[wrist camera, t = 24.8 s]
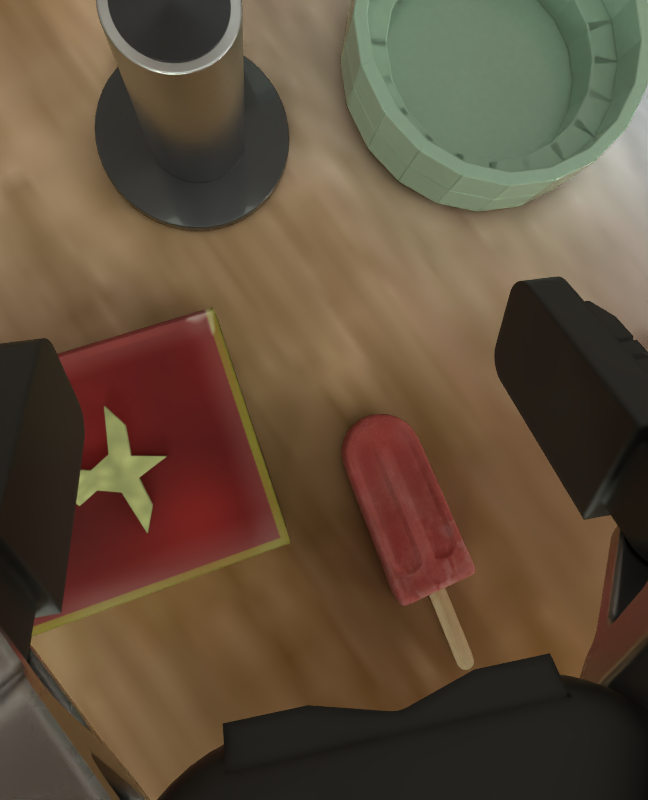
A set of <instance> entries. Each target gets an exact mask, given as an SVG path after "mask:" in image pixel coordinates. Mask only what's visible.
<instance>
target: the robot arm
mask: <svg viewBox="0 0 648 800" xmlns="http://www.w3.org/2000/svg"><path fill="white" fill-rule="evenodd" d="M495 366H496V371H497V374H498V377H499V379H500V381H501V382H502V384H503V386H504V387H505V389H506V391H507V392H508V394H509V396H510V397H511V399H512V401H513V402H514V404H515V406H516V407H517V409H518V411H519V412H520V414H521V416H522V417H523V419H524V421H525V422H526V424H527V426H528V427H529V429H530V431H531V432H532V434H533V436H534V437H535V439H536V441H537V442H538V444H539V446H540V447H541V449H542V451H543V452H544V454H545V456H546V457H547V459H548V461H549V462H550V464H551V466H552V467H553V469H554V471H555V472H556V474H557V476H558V477H559V479H560V481H561V482H562V484H563V486H564V487H565V489H566V491H567V492H568V494H569V496H570V497H571V499H572V501H573V502H574V504H575V506H576V507H577V509H578V510H579V512H580V514H581V515H582V517H583V519H584V520H585V519H590V518H596V517H601V516H607V515H611V516H612V517H613V519H614V520H615V522H616V523H617V527H616V528H615V530H614V532H613V534H612V537H611V543H610V549H609V555H608V562H607V568H606V575H605V581H604V588H603V594H602V600H601V607H600V613H599V620H598V626H597V631H596V634H595V638H594V641H593V643H592V646H591V648H590V650H589V652H588V655H587V657H586V660H585V663H584V665H583V669H582V672H581V676H580V678H576V677H571V676H566V675H560V674H559V672H558V670H557V668H556V666H555V663H554V661H553V659H552V657H551V655H550V654H545V655H540V656H536V657H531V658H526V659H522V660H517V661H512V662H508V663H503V664H498V665H494V666H489V667H484V668H480V669H475V670H473V671H471V672H469V673H467V674H466V675H464V676H462V677H460V678H459V679H457V680H455V681H453V682H451V683H450V684H448V685H446V686H444V687H443V688H441V689H439V690H437V691H436V692H434V693H432V694H430V695H428V696H427V697H425V698H423V699H421V700H420V701H418V702H416V703H414V704H413V705H411V706H409V707H407V708H405V709H403V710H399V711H378V710H364V709H350V708H337V707H323V706H309V705H307V706H303V707H298V708H293V709H289V710H284V711H279V712H275V713H270V714H265V715H261V716H256V717H252V718H247V719H242V720H238V721H233V722H228V723H224V724H223V735H224V745H222V746H221V747H219V748H217V749H215V750H213V751H211V752H210V753H208V754H207V755H205V756H204V757H203V758H201V759H200V760H198V761H197V762H196V763H194V764H193V765H191V766H190V767H189V768H188V769H187V770H186V771H185V772H183V773H182V774H181V775H180V776H179V777H178V778H177V779H176V780H175V781H174V782H172V783H171V784H170V786H169V787H168V788H167V789H166V790H165V791H164V792H163V794H162V795H161V796H160V797H159V798H158V799H157V800H648V352H647V351H646V349H645V348H644V347H643V346H642V345H641V344H640V343H639V342H638V341H637V340H633V335H632V334H631V333H630V332H629V331H628V330H627V329H626V328H625V326H624V325H623V324H622V323H621V322H620V321H619V320H618V319H617V318H616V317H615V316H614V315H612V314H610V313H609V312H607V311H605V310H604V309H602V308H600V307H599V306H597V305H595V304H594V303H592V302H590V301H583V299H582V298H581V297H580V296H579V295H578V294H577V293H576V291H575V290H574V289H573V288H572V287H571V286H570V285H569V283H568V282H567V281H566V280H565V279H563V278H562V277H550V278H542V279H534V280H526V281H519V282H517V283H515V284H514V286H513V287H512V289H511V292H510V295H509V299H508V302H507V306H506V310H505V313H504V317H503V321H502V324H501V328H500V332H499V335H498V339H497V343H496V347H495ZM84 440H85V426H84V418H83V413H82V410H81V406H80V404H79V401H78V399H77V397H76V395H75V392H74V390H73V388H72V386H71V384H70V381H69V379H68V377H67V375H66V373H65V370H64V368H63V366H62V364H61V362H60V359H59V357H58V355H57V353H56V351H55V349H54V347H53V345H52V343H51V342H50V341H49V340H48V339H46V338H42V339H34V340H26V341H18V342H9V343H1V344H0V800H150V799H149V798H148V796H147V795H146V794H145V792H144V791H143V790H142V788H141V787H140V786H139V784H138V783H137V782H136V780H135V779H134V778H133V777H132V775H131V774H130V773H129V772H128V770H127V769H126V768H125V767H124V765H123V764H122V763H121V762H120V760H119V759H118V758H117V757H116V756H115V755H114V753H113V752H112V751H111V750H110V749H109V748H108V746H107V745H106V744H105V743H104V742H103V740H102V739H101V738H100V737H99V735H98V734H97V733H96V731H95V730H94V729H93V727H92V726H91V725H90V723H89V722H88V721H87V719H86V718H85V717H84V715H83V714H82V713H81V711H80V710H79V709H78V707H77V706H76V705H75V703H74V702H73V701H72V699H71V698H70V696H69V695H68V694H67V692H66V691H65V690H64V688H63V687H62V686H61V684H60V683H59V682H58V680H57V679H56V678H55V676H54V675H53V674H52V672H51V671H50V670H49V668H48V667H47V666H46V664H45V663H44V662H43V660H42V659H41V658H40V656H39V655H38V654H37V652H36V651H35V650H34V648H33V647H32V646H31V645H30V643H31V637H32V631H33V625H34V619H35V618H38V617H43V616H49V615H54V614H60V613H61V612H62V605H63V597H64V590H65V582H66V575H67V567H68V560H69V552H70V545H71V537H72V530H73V522H74V515H75V507H76V500H77V492H78V485H79V478H80V470H81V463H82V455H83V448H84Z"/></svg>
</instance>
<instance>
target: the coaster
mask: <svg viewBox="0 0 648 800" xmlns="http://www.w3.org/2000/svg"><path fill="white" fill-rule="evenodd" d="M243 67H244V119H245V143H244V149H243V152H242V155H241V157H240V159H239V161H238V162H237V164H236V165H235V166H234V167H233V169H232V170H231V171H229V172H228V173H227V174H225V175H224V176H222V177H220V178H218V179H216V180H213V181H209V182H199V183H197V182H189V181H185V180H182V179H179V178H177V177H175V176H173V175H172V174H170V173H169V172H167V171H166V170H165V169H164V168H163V167H162V166H161V165H160V164H159V163H158V162H157V160H156V159H155V157H154V155H153V153H152V151H151V149H150V147H149V144H148V141H147V139H146V136H145V134H144V131H143V129H142V126H141V124H140V121H139V119H138V116H137V114H136V111H135V109H134V106H133V104H132V101H131V99H130V96H129V93H128V91H127V88H126V86H125V83H124V81H123V78H122V76H121V73H120V71H119V68H118V67H117V68H116V70H115V71H114V72H113V74H112V75H111V76H110V78H109V79H108V81H107V83H106V85H105V87H104V89H103V90H102V93H101V96H100V99H99V102H98V106H97V110H96V116H95V138H96V144H97V149H98V154H99V156H100V159H101V162H102V165H103V167H104V169H105V171H106V173H107V175H108V177H109V178H110V180H111V182H112V183H113V184H114V186H115V187H116V189H117V190H118V192H119V193H120V194H121V195H122V196H123V197H124V198H125V200H126V201H127V202H129V203H130V204H131V205H132V206H133V207H134V208H135V209H137V210H138V211H139V212H141V213H142V214H144V215H145V216H147V217H149V218H151V219H153V220H155V221H157V222H159V223H161V224H164V225H167V226H169V227H173V228H178V229H182V230H191V231H208V230H214V229H220V228H223V227H227V226H230V225H233V224H235V223H237V222H239V221H242V220H243V219H245V218H247V217H248V216H250V215H251V214H253V213H254V212H255V211H257V210H258V209H259V208H260V207H261V206H262V205H263V204H264V203H265V202H266V201H267V200H268V199H269V198H270V196H271V195H272V193H273V192H274V191H275V189H276V188H277V186H278V184H279V182H280V180H281V178H282V175H283V172H284V169H285V166H286V161H287V156H288V149H289V129H288V122H287V117H286V113H285V110H284V107H283V104H282V102H281V99H280V97H279V95H278V93H277V91H276V90H275V88H274V87H273V85H272V83H271V82H270V80H269V79H268V78H267V77H266V76H265V74H264V73H263V72H262V71H261V70H260V69H259V68H258V67H257V66H256V65H255V64H254V63H253V62H252V61H250V60H249V59H248V58H246V57H245V56H243Z"/></svg>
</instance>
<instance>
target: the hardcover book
mask: <svg viewBox="0 0 648 800" xmlns="http://www.w3.org/2000/svg"><path fill="white" fill-rule="evenodd" d="M57 355H58V357H59V359H60V362H61V364H62V366H63V368H64V370H65V373H66V375H67V377H68V379H69V381H70V384H71V386H72V388H73V390H74V392H75V395H76V397H77V399H78V401H79V404H80V406H81V410H82V413H83V418H84V426H85V440H84V448H83V455H82V463H81V470H80V478H79V485H78V492H77V500H76V507H75V515H74V522H73V530H72V537H71V545H70V552H69V560H68V567H67V575H66V582H65V590H64V597H63V605H62V612H61V613H60V614H54V615H49V616H43V617H38V618H35V619H34V625H33V631H32V636H34V635H37V634H39V633H42V632H45V631H48V630H51V629H53V628H56V627H59V626H62V625H64V624H67V623H70V622H73V621H76V620H78V619H81V618H84V617H87V616H89V615H92V614H95V613H98V612H100V611H103V610H106V609H109V608H112V607H114V606H117V605H120V604H123V603H125V602H128V601H131V600H134V599H137V598H139V597H142V596H145V595H148V594H150V593H153V592H156V591H159V590H161V589H164V588H167V587H170V586H173V585H175V584H178V583H181V582H184V581H186V580H189V579H192V578H195V577H198V576H200V575H203V574H206V573H209V572H211V571H214V570H217V569H220V568H222V567H225V566H228V565H231V564H234V563H236V562H239V561H242V560H245V559H247V558H250V557H253V556H256V555H259V554H261V553H264V552H267V551H270V550H272V549H275V548H278V547H281V546H283V545H286V544H289V543H291V542H290V539H289V536H288V533H287V530H286V525H285V522H284V519H283V516H282V513H281V510H280V507H279V504H278V501H277V498H276V495H275V492H274V489H273V486H272V483H271V480H270V477H269V474H268V470H267V467H266V464H265V461H264V458H263V455H262V452H261V449H260V446H259V443H258V440H257V437H256V434H255V431H254V428H253V425H252V422H251V419H250V416H249V413H248V410H247V407H246V404H245V401H244V398H243V395H242V392H241V389H240V386H239V383H238V380H237V377H236V374H235V371H234V368H233V365H232V362H231V359H230V356H229V353H228V350H227V347H226V344H225V340H224V337H223V334H222V331H221V328H220V325H219V322H218V319H217V317H216V314H215V311H214V308H213V307H211V308H208V309H205V310H201V311H198V312H195V313H191V314H188V315H185V316H182V317H178V318H175V319H172V320H168V321H165V322H162V323H158V324H155V325H152V326H148V327H145V328H142V329H138V330H135V331H132V332H128V333H125V334H122V335H118V336H115V337H112V338H108V339H105V340H102V341H98V342H95V343H92V344H89V345H85V346H82V347H79V348H75V349H72V350H69V351H65V352H62V353H59V354H57Z"/></svg>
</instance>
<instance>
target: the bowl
mask: <svg viewBox="0 0 648 800" xmlns="http://www.w3.org/2000/svg"><path fill="white" fill-rule="evenodd" d="M340 60H341V62H340V64H341V71H342V77H343V83H344V90H345V96H346V102H347V107H348V109H349V111H350V113H351V115H352V117H353V119H354V121H355V123H356V125H357V127H358V129H359V131H360V134H361V136H362V138H363V140H364V142H365V144H366V146H367V147H368V149H369V150H370V151H371V152H372V153H373V155H374V156H375V157H376V158H377V159H378V160H379V161H380V162H381V163H382V164H383V165H384V166H385V167H386V168H387V169H388V171H389V172H390V173H391V174H392V175H393V176H394V177H395V178H396V179H397V180H398V181H399V182H400V183H402V184H404V185H406V186H407V187H409V188H411V189H413V190H414V191H416V192H418V193H420V194H421V195H423V196H425V197H427V198H428V199H430V200H432V201H434V202H435V203H439V204H444V205H448V206H453V207H458V208H463V209H468V210H472V211H487V210H495V209H503V208H511V207H518V206H522V205H524V204H526V203H528V202H530V201H532V200H534V199H536V198H538V197H540V196H542V195H544V194H546V193H548V192H550V191H552V190H554V189H555V188H557V187H558V186H560V185H561V184H563V183H564V182H566V181H567V180H568V179H570V178H571V177H573V176H574V175H576V174H577V173H579V172H580V171H581V170H583V169H584V168H586V167H587V166H589V165H590V164H592V163H593V162H594V161H596V160H597V159H598V158H599V157H600V156H601V155H602V154H603V153H604V152H605V151H606V150H607V149H608V147H609V146H610V145H611V144H612V143H613V142H614V141H615V140H616V139H617V138H618V137H619V136H620V135H621V134H622V133H623V132H624V131H625V130H626V128H627V127H628V125H629V123H630V121H631V119H632V117H633V115H634V113H635V111H636V108H637V106H638V104H639V102H640V100H641V98H642V96H643V94H644V92H645V90H646V87H647V83H648V0H351V4H350V8H349V12H348V16H347V21H346V27H345V34H344V40H343V47H342V53H341V59H340Z"/></svg>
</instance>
